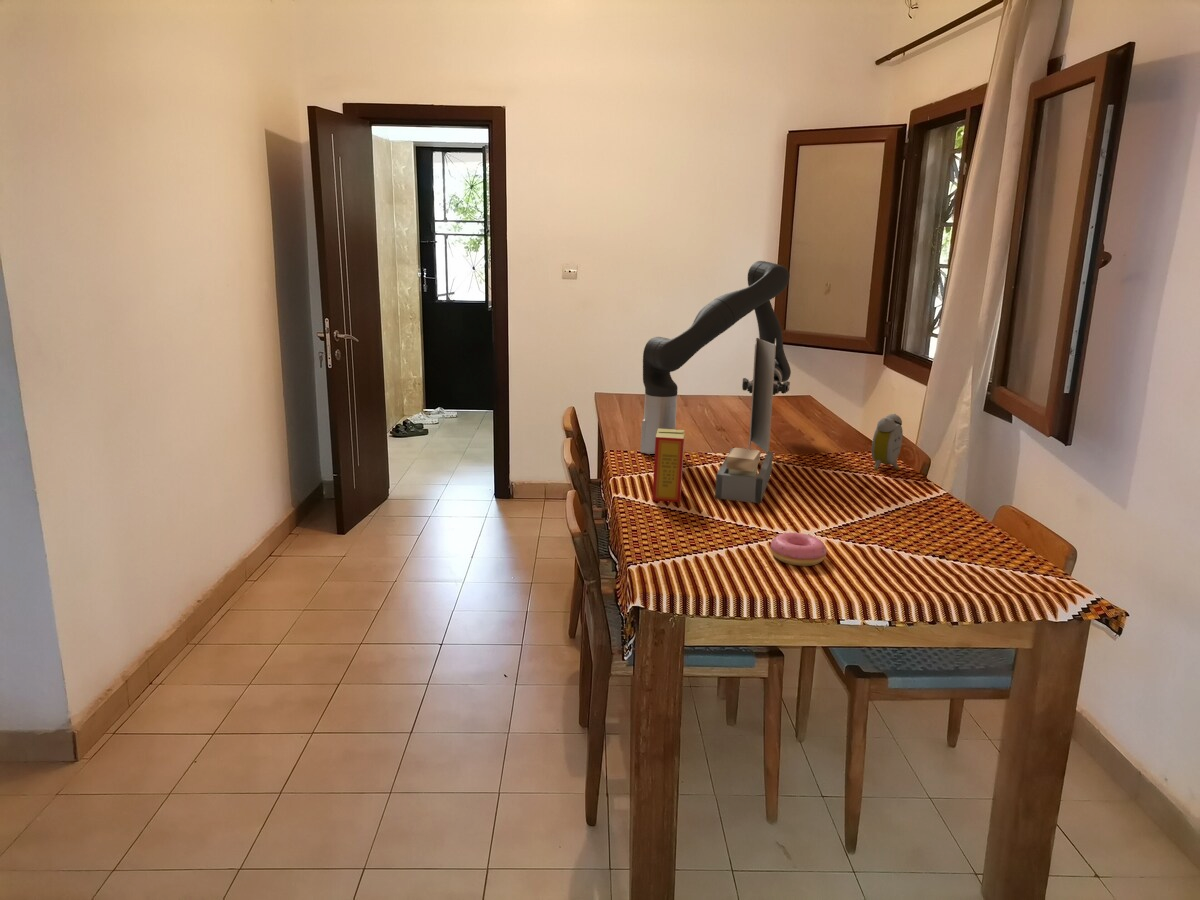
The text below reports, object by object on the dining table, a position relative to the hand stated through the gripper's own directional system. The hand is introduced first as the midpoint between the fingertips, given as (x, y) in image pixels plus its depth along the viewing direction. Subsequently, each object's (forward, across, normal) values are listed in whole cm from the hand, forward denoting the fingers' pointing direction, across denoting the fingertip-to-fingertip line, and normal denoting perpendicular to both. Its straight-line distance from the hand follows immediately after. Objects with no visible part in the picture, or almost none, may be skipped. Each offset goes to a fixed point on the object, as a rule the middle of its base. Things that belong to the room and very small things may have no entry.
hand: (762, 390), depth 230 cm
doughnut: (+73, +16, +19) cm, 77 cm away
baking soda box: (+44, -17, +20) cm, 51 cm away
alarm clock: (-4, +36, +20) cm, 41 cm away
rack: (+28, 0, +20) cm, 34 cm away
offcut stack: (+34, 0, +20) cm, 40 cm away
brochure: (+1, 0, +16) cm, 16 cm away
